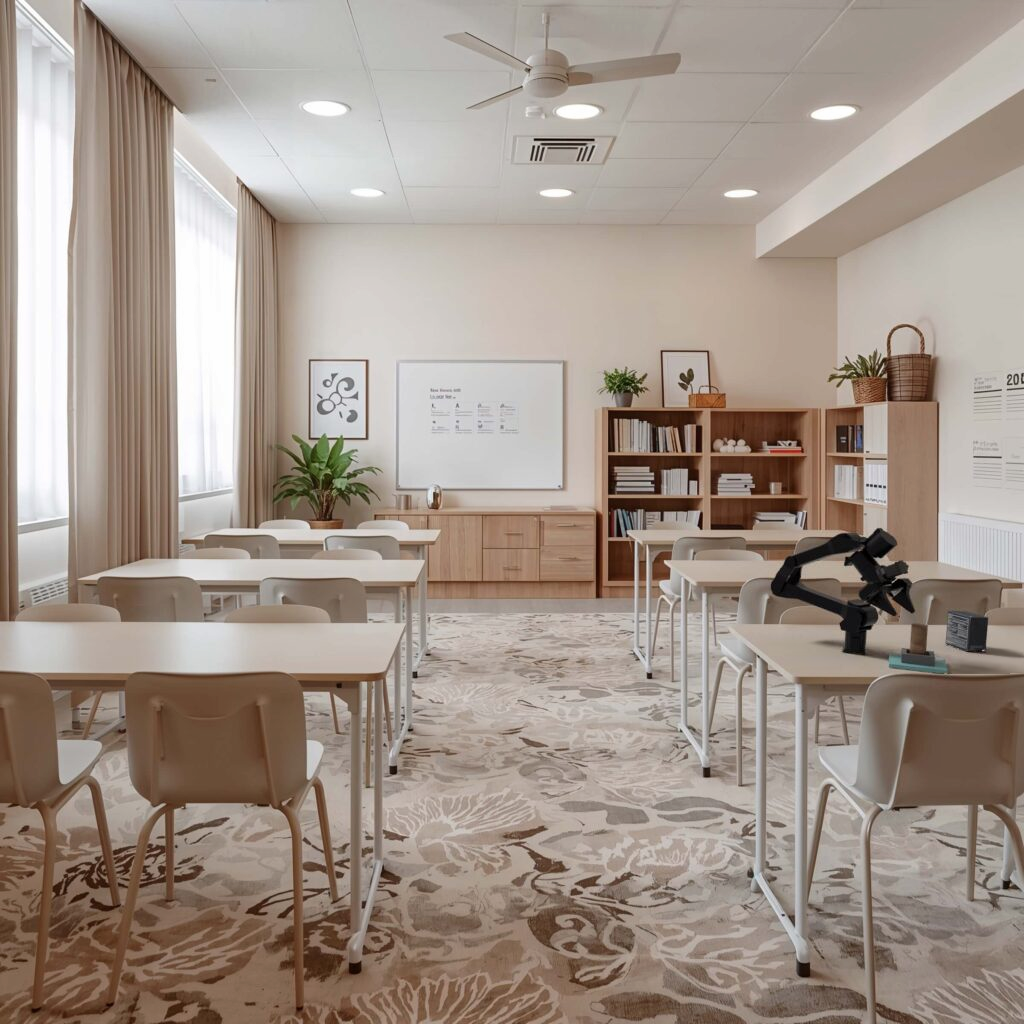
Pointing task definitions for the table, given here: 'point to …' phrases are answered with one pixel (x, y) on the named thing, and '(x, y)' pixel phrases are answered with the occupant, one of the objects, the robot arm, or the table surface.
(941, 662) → the docking socket
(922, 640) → the peg
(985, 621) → the small box
